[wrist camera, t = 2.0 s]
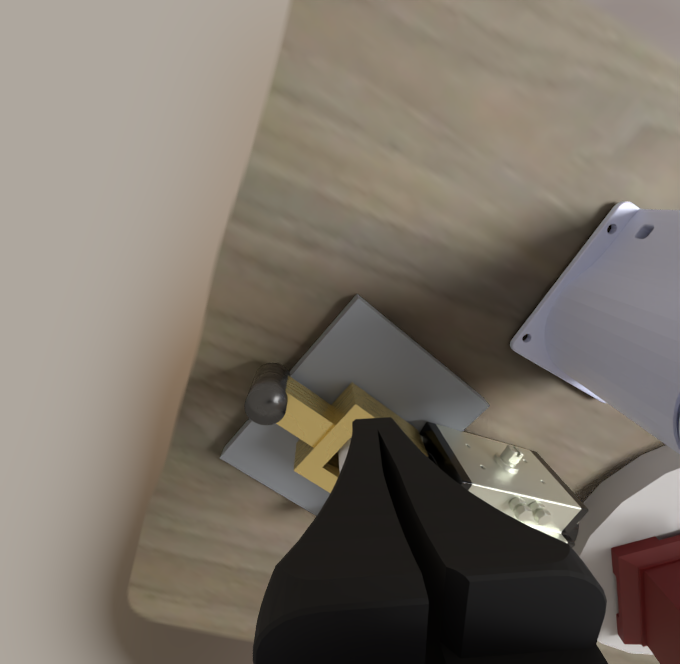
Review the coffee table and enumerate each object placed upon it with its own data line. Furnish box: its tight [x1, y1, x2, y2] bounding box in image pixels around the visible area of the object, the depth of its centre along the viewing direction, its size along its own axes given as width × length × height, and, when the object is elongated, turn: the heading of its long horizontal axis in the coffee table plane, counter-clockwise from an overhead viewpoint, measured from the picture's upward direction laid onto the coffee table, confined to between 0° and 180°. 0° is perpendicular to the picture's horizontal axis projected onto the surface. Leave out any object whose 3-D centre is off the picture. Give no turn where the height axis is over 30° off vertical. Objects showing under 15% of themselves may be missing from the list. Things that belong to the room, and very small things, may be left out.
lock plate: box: [220, 294, 490, 516], centre depth 21 cm, size 13×10×4 cm
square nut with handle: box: [245, 363, 428, 493], centre depth 20 cm, size 5×10×3 cm, turn 50°
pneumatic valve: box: [419, 422, 589, 548], centre depth 22 cm, size 6×12×12 cm
